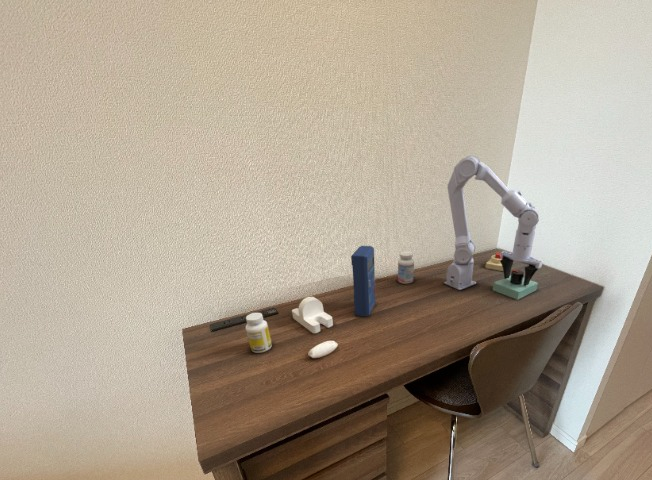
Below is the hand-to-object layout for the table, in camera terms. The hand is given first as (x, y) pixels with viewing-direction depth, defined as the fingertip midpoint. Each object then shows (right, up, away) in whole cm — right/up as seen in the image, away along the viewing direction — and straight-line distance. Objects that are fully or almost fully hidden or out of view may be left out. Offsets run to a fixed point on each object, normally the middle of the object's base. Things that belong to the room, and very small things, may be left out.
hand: (516, 281), depth 114 cm
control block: (+2, +8, +23) cm, 24 cm away
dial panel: (0, -3, +2) cm, 3 cm away
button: (+2, +11, +21) cm, 24 cm away
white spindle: (-63, -21, -30) cm, 73 cm away
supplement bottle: (-80, -20, -28) cm, 87 cm away
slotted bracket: (-69, -13, -16) cm, 72 cm away
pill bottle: (-39, +1, +10) cm, 40 cm away
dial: (0, 0, 0) cm, 0 cm away
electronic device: (-53, -10, -9) cm, 55 cm away
